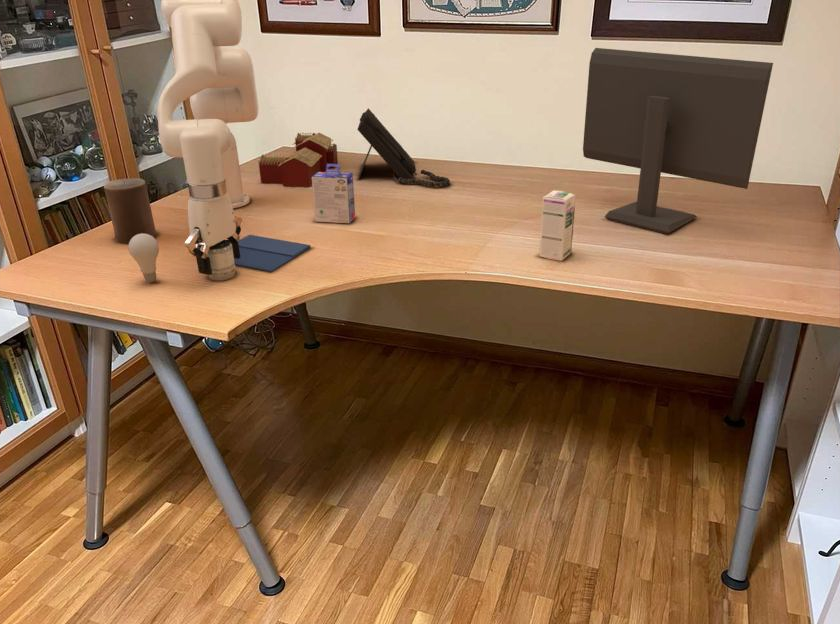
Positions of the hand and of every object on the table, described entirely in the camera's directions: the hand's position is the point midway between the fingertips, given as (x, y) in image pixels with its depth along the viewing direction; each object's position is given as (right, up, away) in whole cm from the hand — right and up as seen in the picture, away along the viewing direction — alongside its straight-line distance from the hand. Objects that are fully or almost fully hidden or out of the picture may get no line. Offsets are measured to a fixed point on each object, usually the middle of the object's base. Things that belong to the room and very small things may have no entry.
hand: (220, 265), depth 156 cm
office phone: (+39, +37, +69) cm, 87 cm away
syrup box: (+75, +3, +9) cm, 76 cm away
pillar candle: (-28, +10, +23) cm, 38 cm away
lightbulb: (-15, -4, -1) cm, 15 cm away
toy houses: (+6, +42, +79) cm, 90 cm away
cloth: (+6, +4, +12) cm, 14 cm away
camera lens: (0, -2, +1) cm, 3 cm away
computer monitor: (+104, +15, +30) cm, 110 cm away
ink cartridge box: (+22, +16, +33) cm, 42 cm away
